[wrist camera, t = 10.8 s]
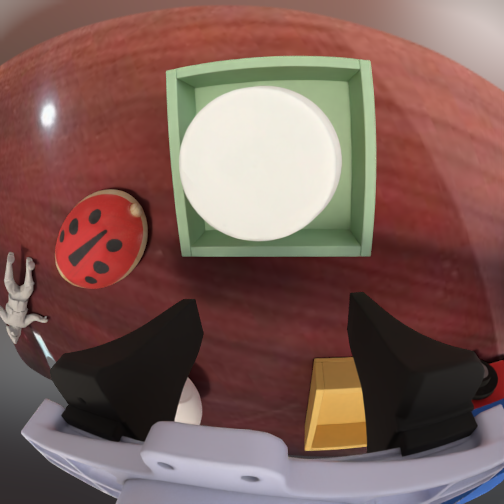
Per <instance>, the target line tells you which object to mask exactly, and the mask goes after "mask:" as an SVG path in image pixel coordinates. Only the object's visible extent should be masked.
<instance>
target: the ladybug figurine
mask: <svg viewBox="0 0 504 504" xmlns="http://www.w3.org/2000/svg"><path fill="white" fill-rule="evenodd" d="M147 237H148V226H147V220H146V216H145V214H144V211H143V209H142V206H141V205H140V204H139V203H138V202H137V201H136V199H134V198H133V197H132V196H131V195H129V194H128V193H126V192H123V191H120V190H114V189H108V190H102V191H98V192H95V193H93V194H91V195H89V196H87V197H86V198H84V199H83V200H82V201H80V202H79V203H78V204H77V205H76V206H75V207H74V208H73V209H72V211H71V212H70V213H69V215H68V216H67V217H66V219H65V221H64V223H63V224H62V227H61V229H60V232H59V234H58V238H57V242H56V248H55V260H56V265H57V269H58V271H59V273H60V274H61V276H62V277H63V278H64V279H65V280H66V281H68V282H69V283H71V284H73V285H75V286H78V287H82V288H90V289H96V288H103V287H106V286H109V285H112V284H114V283H116V282H118V281H120V280H121V279H123V278H124V277H126V276H127V275H128V274H129V273H130V272H131V271H132V270H133V269H134V268H135V267H136V265H137V264H138V262H139V261H140V259H141V257H142V255H143V253H144V250H145V247H146V243H147Z"/></svg>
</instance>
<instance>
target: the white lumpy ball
mask: <svg viewBox="0 0 504 504" xmlns="http://www.w3.org/2000/svg"><path fill="white" fill-rule="evenodd" d="M201 418H202V404H201V399H200V396H199V393H198V391H197V389H196V387H195V385H194V384H193V382H192V381H191V380H190V379H189V378H187V380H186V383H185V385H184V388H183V390H182V394H181V397H180V401H179V404H178V408H177V412H176V416H175V421H174V422H181V423H187V424H194V425H199V424H200V422H201Z"/></svg>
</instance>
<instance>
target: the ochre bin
mask: <svg viewBox="0 0 504 504" xmlns="http://www.w3.org/2000/svg"><path fill="white" fill-rule="evenodd" d="M366 446H367V435H366V421H365V410H364V402H363V394H362V389H361V384H360V380H359V377H358V373H357V369H356V366H355V362H354V359H353V357H344V358H315V359H314V365H313V373H312V381H311V388H310V395H309V402H308V408H307V415H306V421H305V451H310V450H311V451H312V450H334V449H347V448H357V447H366Z"/></svg>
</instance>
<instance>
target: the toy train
mask: <svg viewBox="0 0 504 504" xmlns="http://www.w3.org/2000/svg"><path fill="white" fill-rule="evenodd" d="M479 360H480V359H479ZM480 361H481V363H482V365H483V366H484V370H485V373H484V378H483V380H482V383H481V385H480V387H479V388H478V390H477V392H476V394H475V395H474V397H473V399H472V400H471V401H472V403H473V405H474V410H473V411H471V412H472V414H473V416H474V417H475V416H477V415H478V414H479V413H481V412H483V411H485V410H488V409H490V408H492V407H495V406H497V405H499V404H501V405H502V407H503V409H504V360H501V361H498V362H494V363H491V364H488V363H487V362H485V361H483V360H480ZM503 480H504V468H503V469H502V470H501V471H499V472H498V473H497V474H496V475H495V476H494V477H492V478H491V479H490V480H489V481H487V482H485V483H483V484H481V485H479V486H477V487H475V488H473V489H471V490H469V491H467V492H465V493H463V494H461V495H458V496H456V497H454V498H452V499H449V500H447V501H445V502H442V503H440V504H463V503H466V502H468V501H470V500H472V499H474V498H476V497H478V496H480V495H482V494H484V493H486V492H488V491H490V490H491V489H492V488H494V487H495V486H496V485H497V484H499V483H500V482H502V481H503Z"/></svg>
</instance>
